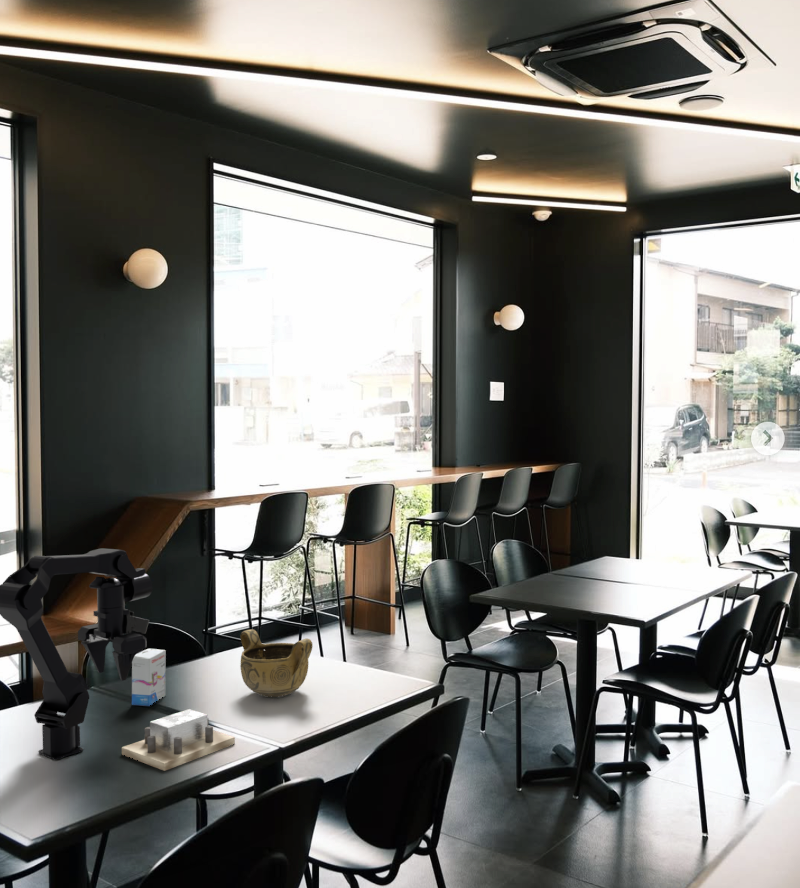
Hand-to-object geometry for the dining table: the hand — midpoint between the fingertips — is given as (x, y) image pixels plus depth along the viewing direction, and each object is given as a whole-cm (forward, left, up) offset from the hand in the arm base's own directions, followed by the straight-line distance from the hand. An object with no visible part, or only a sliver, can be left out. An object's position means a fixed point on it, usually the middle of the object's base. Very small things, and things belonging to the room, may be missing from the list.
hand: (112, 676), depth 197 cm
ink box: (+18, +11, -12) cm, 24 cm away
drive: (+2, -21, -10) cm, 23 cm away
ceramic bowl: (+40, -10, -12) cm, 43 cm away
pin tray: (+2, -21, -12) cm, 24 cm away
